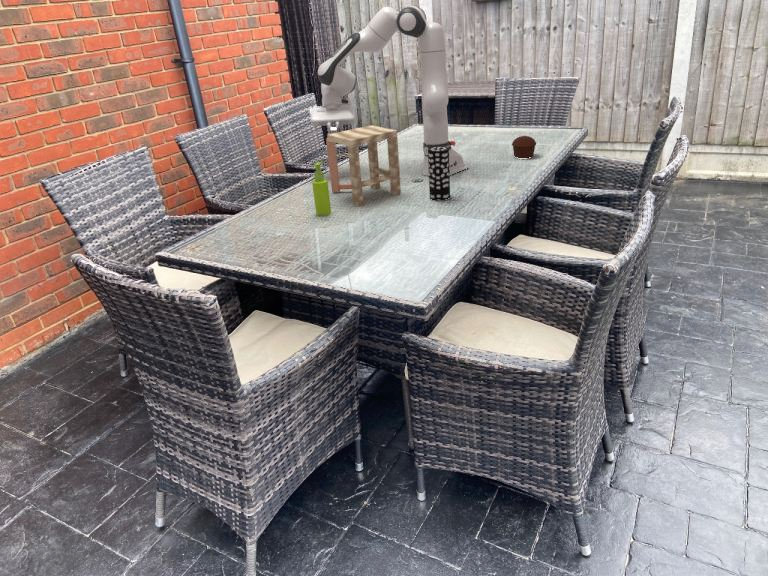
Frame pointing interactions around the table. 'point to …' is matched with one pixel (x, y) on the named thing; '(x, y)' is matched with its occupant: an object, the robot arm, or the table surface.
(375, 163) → the stool
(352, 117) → the robot arm
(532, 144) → the muffin
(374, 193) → the table surface
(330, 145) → the hinged leg
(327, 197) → the soap dispenser
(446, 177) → the spotted tube
